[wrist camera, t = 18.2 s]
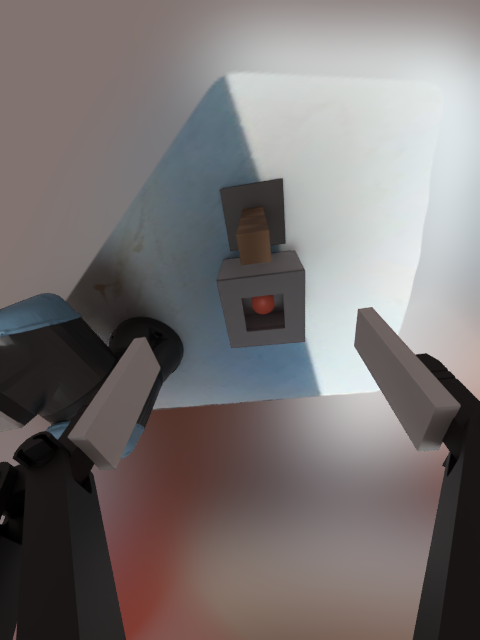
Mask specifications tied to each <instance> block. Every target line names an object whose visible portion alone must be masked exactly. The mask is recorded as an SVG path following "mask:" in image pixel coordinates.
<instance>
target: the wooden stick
mask: <svg viewBox="0 0 480 640" xmlns="http://www.w3.org/2000/svg"><path fill="white" fill-rule="evenodd" d="M236 236H237V242H238V249H239V255H240V262H241V266H242V265H249V264H257V263H265V262H271V251H270V239H269V229H268V225H267V221H266V217H265V213H264V209H263V206H260V207H254V208H248V209H243V210H242V214H241V218H240V222H239V226H238V230H237V234H236Z"/></svg>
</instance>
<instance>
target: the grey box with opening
mask: <svg viewBox="0 0 480 640" xmlns="http://www.w3.org/2000/svg"><path fill="white" fill-rule="evenodd" d="M217 286H218V290H219V295H220V299H221V304H222V308H223V313H224V318H225V322H226V327H227V331H228V336H229V340H230V345H231V348H239V347H250V346H262V345H273V344H285V343H297V342H305V270H304V268H303V266H302V264H301V262H300V260H299V258H298V256H297V254H296V252H295V250H293V251H286V252H278V253H271V262H265V263H257V264H249V265H242V266H241V262H240V258H233V259H226V260H223V263H222V266H221V269H220V273H219V276H218V279H217ZM266 295H273V296H274V302H275V306H274V309H273V310H272V311H271V312H270V313H267V314H259V313H257V312H255V311H254V310H253V308H252V297H257V296H266Z"/></svg>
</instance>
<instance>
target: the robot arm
mask: <svg viewBox="0 0 480 640" xmlns="http://www.w3.org/2000/svg"><path fill="white" fill-rule="evenodd" d="M354 346H355V348H356V350H357V351H358V353H359V355H360V356H361V358H362V360H363V361H364V363H365V365H366V366H367V368H368V370H369V371H370V373H371V375H372V376H373V378H374V380H375V381H376V383H377V385H378V386H379V388H380V390H381V391H382V393H383V394H384V396H385V398H386V400H387V401H388V403H389V405H390V406H391V408H392V410H393V411H394V413H395V415H396V416H397V418H398V419H399V421H400V423H401V424H402V426H403V428H404V429H405V431H406V433H407V434H408V436H409V438H410V439H411V441H412V443H413V444H414V446H415V448H416V449H417V451H429V450H439V448H440V446H441V444H442V442H444V444H445V445H446V446H447V448H448V449H449V451H450V452H449V454H448V456H447V458H446V460H445V461H444V463H443V465H442V466H444V467H445V473H444V478H443V483H442V488H441V494H440V499H439V504H438V509H437V515H436V520H435V525H434V531H433V536H432V541H431V546H430V551H429V557H428V562H427V567H426V572H425V578H424V583H423V588H422V593H421V599H420V604H419V609H418V615H417V620H416V625H415V630H414V636H413V640H480V401H479V400H478V399H477V398H476V397H475V396H474V395H473V394H472V393H471V392H470V391H469V390H468V389H467V388H466V387H465V386H464V385H463V384H462V383H461V382H460V381H459V380H458V379H456V378H455V376H454V375H453V374H452V373H451V372H450V371H448V369H447V368H446V367H445V366H444V365H443V364H442V363H441V362H440V361H439V360H437V359H435V358H433V357H432V356H430V355H428V354H417V355H415V354H414V353H413V352H412V351H411V350H410V349H409V348H408V346H407V345H406V344H405V343H404V342H403V341H402V340H401V339H400V338H399V336H398V335H397V334H396V333H395V332H394V331H393V330H392V329H391V328H390V326H389V325H388V324H387V323H386V322H385V321H384V320H383V319H382V318H381V316H380V315H379V314H378V313H377V312H376V311H375V310H374V309H373V308H372V307H370V308H362V309H358V315H357V324H356V334H355V343H354ZM182 356H183V345H182V342H181V340H180V338H179V337H178V335H177V334H176V333H175V332H174V331H173V330H172V329H171V328H170V327H168V326H167V325H165V324H163V323H161V322H159V321H157V320H154V319H150V318H142V317H138V318H131V319H128V320H126V321H124V322H122V323H121V324H120V325H119V326H118V327H117V328H116V329H115V331H114V332H113V333H112V335H111V337H110V341H109V346H107V345H106V344H105V343H104V342H103V341H102V340H101V339H100V337H99V336H98V335H97V334H96V333H95V332H94V331H93V330H92V329H91V328H90V327H89V325H88V324H87V323H86V322H85V321H84V320H83V319H82V318H81V314H79V313H77V312H76V311H75V310H74V309H73V308H71V307H70V306H69V305H68V304H67V303H66V302H65V301H64V300H63V299H62V298H61V297H60V296H58V295H55V294H51V293H44V294H40V295H36V296H34V297H31V298H28V299H26V300H23V301H20V302H18V303H15V304H13V305H10V306H8V307H5V308H3V309H0V432H1V431H6V430H12V429H17V428H22V427H23V426H25V425H26V424H27V423H28V422H29V421H30V420H31V419H33V418H34V417H35V416H36V415H37V414H39V415H40V416H42V417H43V418H44V419H46V420H47V421H49V422H50V423H51V426H50V427H48V429H47V430H46V431H44V432H39V433H37V434H35V435H33V436H31V437H30V438H28V439H27V440H26V441H25V442H24V443H23V444H21V445H20V446H19V448H18V449H17V450H16V452H15V453H14V456H13V459H14V460H16V461H17V462H18V463H20V465H17V466H15V467H14V466H12V465H11V464H9V463H8V462H1V463H0V519H1V516H2V515H4V516H5V519H4V522H3V523H2V525H1V524H0V640H13V636H14V632H15V628H16V624H17V635H16V640H126V638H125V633H124V627H123V622H122V617H121V612H120V607H119V602H118V597H117V592H116V587H115V582H114V577H113V572H112V566H111V561H110V556H109V552H108V546H107V542H106V536H105V531H104V526H103V521H102V516H101V511H100V506H99V501H98V495H97V490H96V485H95V481H94V475H93V474H92V472H91V469H92V467H93V465H94V464H95V465H96V466H97V467H98V468H99V469H100V470H111V469H116V467H117V465H118V462H119V460H120V459H122V458H124V457H126V456H128V455H129V454H130V453H131V452H132V451H133V450H134V448H135V446H136V444H137V442H138V440H139V438H140V436H141V434H142V433H143V432H144V429H145V426H146V424H147V421H148V419H149V416H150V414H151V411H152V409H153V406H154V404H155V401H156V398H157V396H158V393H159V391H160V389H161V386H162V384H163V382H164V381H165V380H166V379H167V378H168V376H169V375H170V374H171V373H173V372H174V371H175V370H176V369H177V367H178V366H179V364H180V362H181V359H182Z"/></svg>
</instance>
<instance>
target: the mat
mask: <svg viewBox="0 0 480 640" xmlns="http://www.w3.org/2000/svg"><path fill="white" fill-rule="evenodd" d="M220 193H221V199H222V205H223V210H224V216H225V222H226V228H227V234H228V240H229V245H230V251H234V250H239V249H238V242H237V236H236V234H237V230H238V226H239V222H240V218H241V214H242V210H243V209H248V208H254V207H260V206H263V209H264V213H265V217H266V221H267V225H268V229H269V239H270V245H278V244H285V220H284V197H283V179H276V180H270V181H264V182H258V183H253V184H247V185H241V186H235V187H229V188H223V189H220Z"/></svg>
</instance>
